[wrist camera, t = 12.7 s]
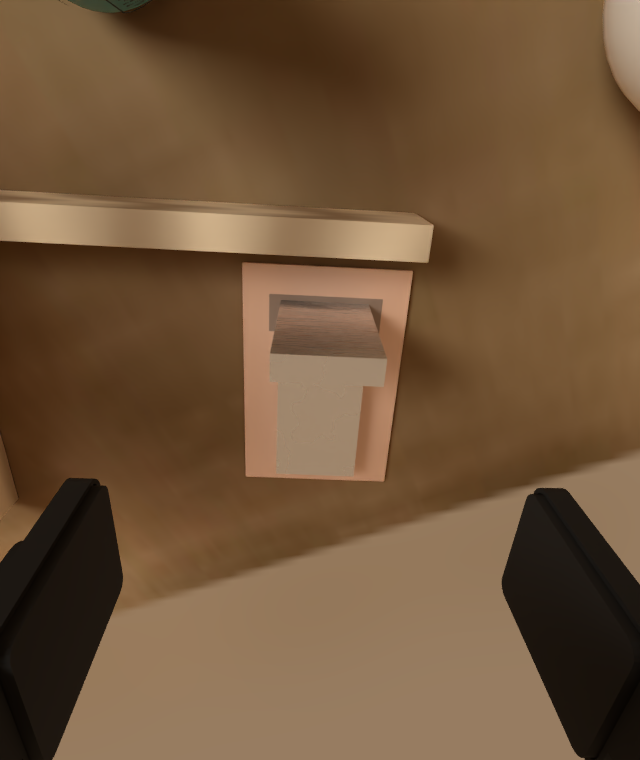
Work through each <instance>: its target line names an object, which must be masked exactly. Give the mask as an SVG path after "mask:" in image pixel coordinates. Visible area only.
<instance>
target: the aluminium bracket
mask: <svg viewBox="0 0 640 760" xmlns="http://www.w3.org/2000/svg"><path fill="white" fill-rule="evenodd" d="M386 366H387V357H386V354H385V351H384V348H383V345H382V342H381V339H380V336H379V333H378V330H377V327H376V325H375V322H374V319H373V316H372V313H371V310H370V307H369V304H349V303H329V302H309V301H290V300H281V302H280V307H279V312H278V317H277V321H276V326H275V331H274V336H273V341H272V346H271V350H270V382H278V405H277V456H276V474H300V475H327V476H353V477H354V468H355V458H356V449H357V440H358V430H359V421H360V411H361V402H362V393H363V386H374V387H384V382H385V374H386Z"/></svg>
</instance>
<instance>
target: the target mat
mask: <svg viewBox="0 0 640 760" xmlns="http://www.w3.org/2000/svg"><path fill="white" fill-rule="evenodd" d="M412 276H413V271H411V270H391V269H372V268H352V267H333V266H313V265H293V264H274V263H254V262H242V282H243V342H244V403H245V463H246V477H274V478H301V479H329V480H357V481H384V478H385V471H386V464H387V456H388V449H389V442H390V435H391V427H392V420H393V413H394V406H395V398H396V391H397V384H398V377H399V370H400V362H401V355H402V348H403V341H404V333H405V326H406V319H407V312H408V304H409V297H410V290H411V283H412ZM281 300H290V301H309V302H329V303H349V304H369V307H370V310H371V313H372V316H373V319H374V322H375V325H376V327H377V330H378V333H379V336H380V339H381V342H382V345H383V348H384V351H385V354H386V357H387V366H386V374H385V382H384V387H374V386H363V393H362V402H361V411H360V421H359V430H358V440H357V449H356V458H355V468H354V477H353V476H327V475H300V474H276V456H277V405H278V382H270V350H271V346H272V341H273V336H274V331H275V326H276V321H277V317H278V312H279V307H280V302H281Z"/></svg>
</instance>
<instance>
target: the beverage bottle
mask: <svg viewBox="0 0 640 760" xmlns="http://www.w3.org/2000/svg"><path fill="white" fill-rule="evenodd" d="M59 1H60V0H59ZM68 1H70V2H72V3H74V4H76V5H78V6H81V7H83V8H86V9H89V10H93V11H98V12H106V13H115V12H122V13H130V12H123V11H127V10H130V9H133V8H136V7H138V6H140V5H142V4H144V3H146V2H147V1H149V0H68ZM151 1H152V0H151ZM151 1H149V2H151ZM149 2H148V3H149ZM62 3H63V2H62ZM148 3H147V4H148ZM64 4H65V3H64ZM147 4H145V5H147ZM145 5H144V6H145ZM144 6H142V7H144ZM142 7H140V8H142ZM140 8H138V9H140ZM138 9H136V10H138ZM136 10H134V11H136ZM131 12H133V11H131Z"/></svg>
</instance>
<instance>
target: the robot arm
mask: <svg viewBox="0 0 640 760" xmlns="http://www.w3.org/2000/svg"><path fill="white" fill-rule="evenodd" d="M122 582H123V573H122V567H121V562H120V556H119V550H118V544H117V539H116V533H115V527H114V521H113V516H112V510H111V504H110V498H109V493H108V489H107V487H106V486H100V483H99V481H98V480H97V479H84V478H69V479H67V480H66V481H65V482H64V483H63V485H62V486H61V488H60V489H59V491H58V492H57V493H56V495H55V496H54V498H53V499H52V501H51V502H50V503H49V505H48V506H47V508H46V509H45V511H44V512H43V514H42V515H41V516H40V518H39V519H38V521H37V522H36V524H35V525H34V526H33V528H32V529H31V531H30V532H29V534H28V535H27V536H26V538H25V539H24V541H20V542H18V543H16V544H15V545H14V546H13V547H12V548H11V549H10V550H9V552H8V553H7V554H6V556H5V557H4V559H3V560H2V561H1V563H0V760H52V759H53V757H54V755H55V753H56V751H57V748H58V746H59V743H60V741H61V738H62V736H63V733H64V731H65V728H66V726H67V723H68V721H69V718H70V716H71V713H72V711H73V708H74V706H75V704H76V701H77V698H78V696H79V694H80V691H81V688H82V686H83V684H84V681H85V679H86V676H87V674H88V671H89V669H90V666H91V664H92V661H93V659H94V656H95V654H96V651H97V649H98V646H99V644H100V641H101V639H102V636H103V634H104V631H105V629H106V626H107V624H108V621H109V619H110V616H111V614H112V612H113V609H114V607H115V604H116V602H117V599H118V597H119V594H120V591H121V588H122ZM502 589H503V593H504V596H505V599H506V601H507V603H508V605H509V608H510V610H511V612H512V614H513V616H514V619H515V621H516V623H517V625H518V627H519V630H520V632H521V634H522V636H523V639H524V641H525V643H526V645H527V648H528V650H529V652H530V654H531V656H532V659H533V661H534V663H535V665H536V668H537V670H538V672H539V674H540V676H541V679H542V681H543V683H544V686H545V688H546V690H547V692H548V694H549V697H550V698H551V701H552V703H553V705H554V708H555V710H556V712H557V714H558V717H559V719H560V721H561V723H562V726H563V728H564V730H565V732H566V734H567V737H568V739H569V741H570V743H571V746H572V748H573V749H574V751H575V752H576V754H577V755H578V756H579V757H581V758H585V760H640V584H639V583H638V582H637V580H636V579H635V578H634V577H633V575H632V574H631V573H630V571H629V570H628V569H627V567H626V566H625V565H624V564H623V562H622V561H621V560H620V558H619V557H618V556H617V554H616V553H615V552H614V551H613V549H612V548H611V547H610V545H609V544H608V543H607V542H606V541H605V539H604V538H603V536H602V535H601V534H600V532H599V531H598V530H597V528H596V527H595V526H594V525H593V523H592V522H591V521H590V519H589V518H588V517H587V515H586V514H585V513H584V511H583V510H582V509H581V507H580V506H579V505H578V504H577V502H576V501H575V500H574V498H573V497H572V496H571V495H570V493H569V492H568V491H567V490H566V489H563V488H538V489H536V490H535V492H534V494H530V495H528V496H527V499H526V502H525V505H524V508H523V512H522V515H521V518H520V521H519V525H518V528H517V531H516V534H515V538H514V541H513V544H512V548H511V551H510V554H509V557H508V561H507V564H506V568H505V570H504V574H503V577H502Z"/></svg>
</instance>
